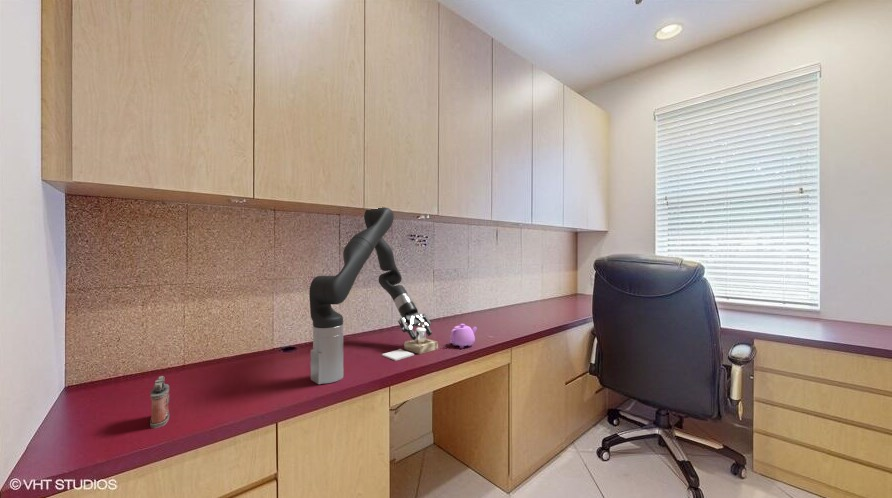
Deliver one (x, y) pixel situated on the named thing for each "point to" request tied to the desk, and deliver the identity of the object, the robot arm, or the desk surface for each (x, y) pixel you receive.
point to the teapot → (463, 335)
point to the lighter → (159, 403)
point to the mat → (397, 354)
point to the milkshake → (420, 335)
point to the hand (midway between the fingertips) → (422, 336)
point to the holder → (421, 346)
